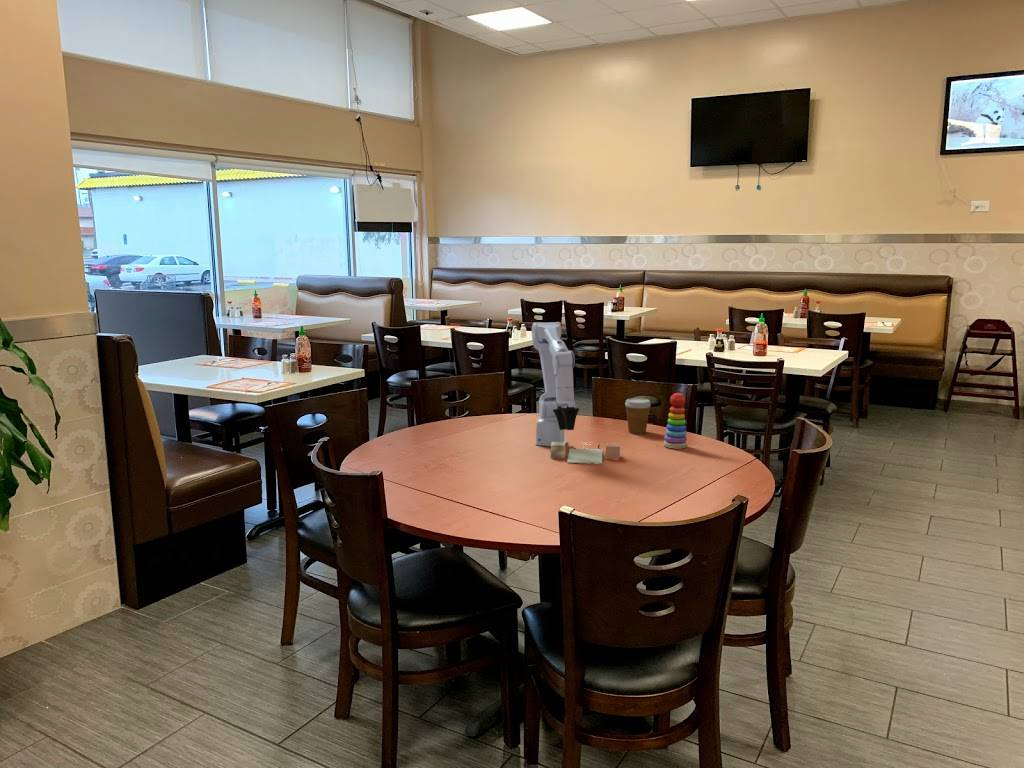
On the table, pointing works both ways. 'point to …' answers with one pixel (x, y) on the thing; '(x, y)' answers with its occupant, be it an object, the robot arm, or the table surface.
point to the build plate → (585, 456)
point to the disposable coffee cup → (637, 414)
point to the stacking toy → (676, 424)
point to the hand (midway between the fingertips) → (566, 429)
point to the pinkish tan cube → (612, 450)
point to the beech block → (558, 449)
